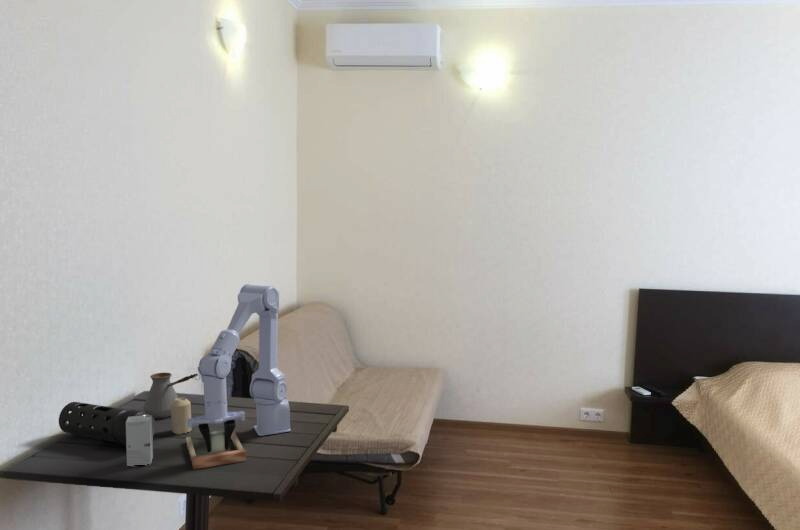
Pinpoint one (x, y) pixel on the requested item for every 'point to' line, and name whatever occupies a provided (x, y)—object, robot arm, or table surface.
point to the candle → (180, 415)
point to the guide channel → (217, 455)
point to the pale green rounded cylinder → (217, 442)
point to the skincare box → (139, 440)
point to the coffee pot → (162, 395)
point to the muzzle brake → (98, 421)
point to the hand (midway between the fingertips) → (217, 449)
